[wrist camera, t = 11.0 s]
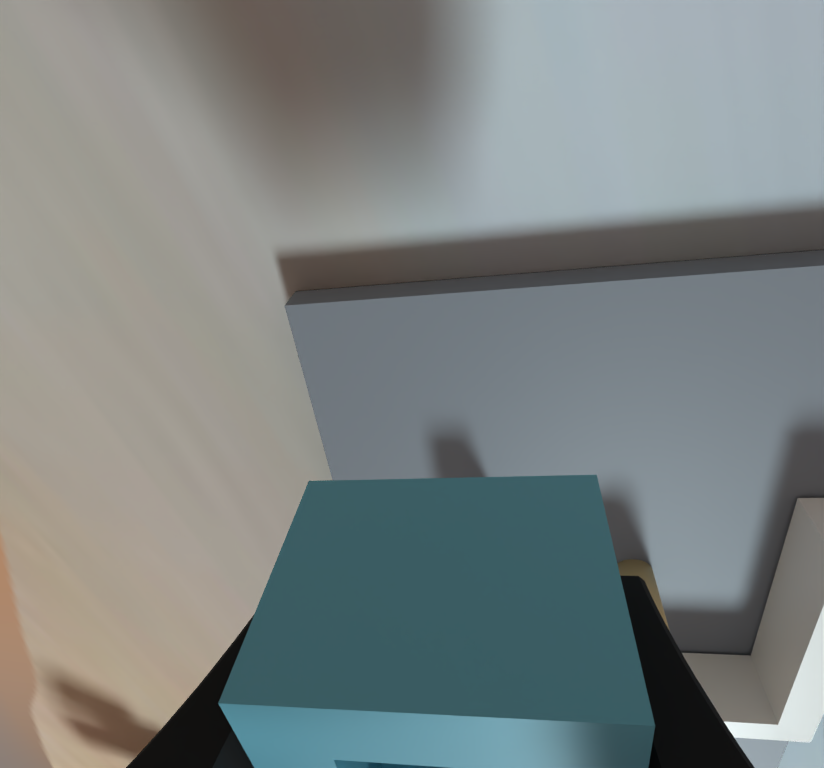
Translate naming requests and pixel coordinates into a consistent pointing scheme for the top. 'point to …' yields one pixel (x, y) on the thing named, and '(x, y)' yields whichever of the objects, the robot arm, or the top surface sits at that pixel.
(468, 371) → the board
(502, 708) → the blue square hollow block
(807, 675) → the white u-shaped piece
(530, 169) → the top surface
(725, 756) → the robot arm
